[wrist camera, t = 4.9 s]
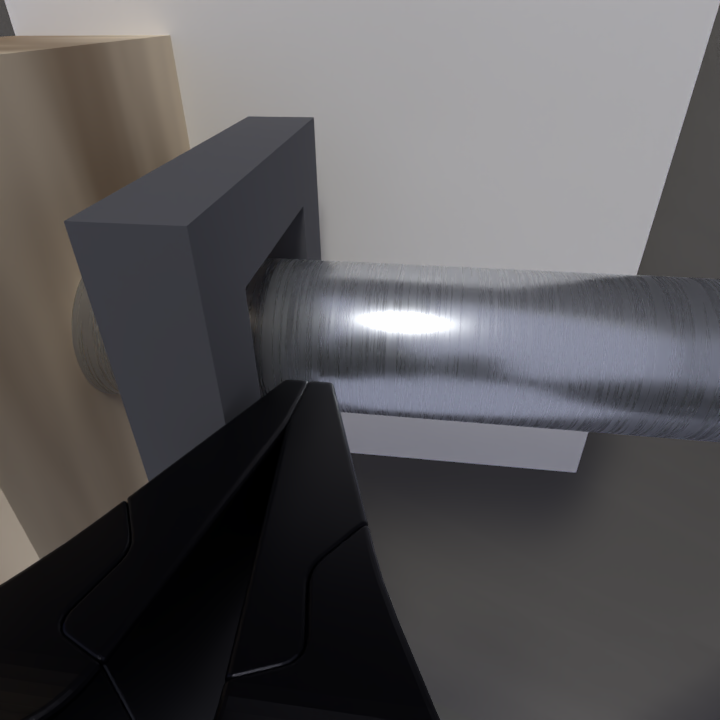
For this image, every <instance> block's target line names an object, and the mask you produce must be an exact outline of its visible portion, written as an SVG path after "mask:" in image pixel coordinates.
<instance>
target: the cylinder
mask: <svg viewBox="0 0 720 720" xmlns="http://www.w3.org/2000/svg"><path fill="white" fill-rule="evenodd" d="M245 290H246V297H247V304H248V311H249V318H250V325H251V332H252V339H253V346H254V354H255V361H256V368H257V375H258V382H259V389H260V396H261V397H263V396H264V395H265V394H267V393H268V392H269V391H271V390H272V389H273V388H275V387H276V386H277V385H279V384H280V383H281V382H283V381H285V380H287V379H291V380H304V381H308V382H311V381H318V382H330V383H332V384H333V385H334V388H335V392H336V396H337V400H338V404H339V408H340V412H346V413H358V414H371V415H384V416H396V417H409V418H421V419H434V420H446V421H459V422H471V423H484V424H496V425H509V426H521V427H534V428H547V429H559V430H572V431H584V432H597V433H609V434H622V435H634V436H647V437H659V438H672V439H684V440H697V441H710V442H720V279H709V278H688V277H666V276H645V275H624V274H602V273H581V272H559V271H538V270H516V269H495V268H473V267H452V266H430V265H409V264H387V263H366V262H344V261H323V260H301V259H280V258H266V259H265V261H264V262H263V264H262V265H261V266H260V268H259V269H258V271H257V272H256V274H255V275H254V276H253V278H252V279H251V281H250V282H249V283H248V285H247V286H246V288H245ZM72 339H73V346H74V351H75V355H76V358H77V362H78V364H79V366H80V369H81V371H82V373H83V374H84V376H85V378H86V379H87V380H88V382H89V383H90V384H91V385H92V386H93V387H94V388H96V389H97V390H99V391H101V392H104V393H109V394H120V392H119V389H118V386H117V383H116V380H115V377H114V374H113V371H112V368H111V365H110V362H109V359H108V356H107V353H106V350H105V346H104V343H103V340H102V337H101V334H100V331H99V328H98V325H97V322H96V319H95V316H94V313H93V310H92V307H91V304H90V301H89V297H88V294H87V291H86V288H85V285H84V282H83V279H82V278H81V280H80V282H79V285H78V288H77V291H76V295H75V299H74V304H73V310H72Z"/></svg>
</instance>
